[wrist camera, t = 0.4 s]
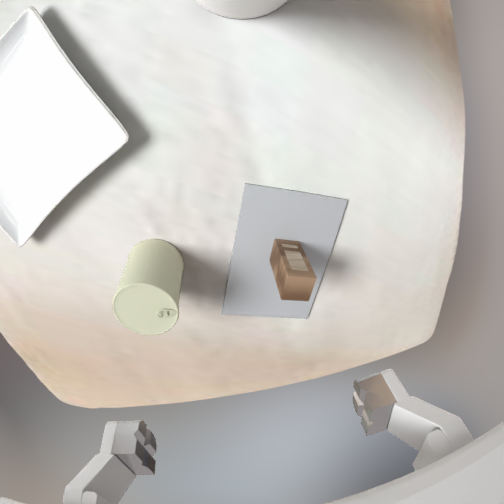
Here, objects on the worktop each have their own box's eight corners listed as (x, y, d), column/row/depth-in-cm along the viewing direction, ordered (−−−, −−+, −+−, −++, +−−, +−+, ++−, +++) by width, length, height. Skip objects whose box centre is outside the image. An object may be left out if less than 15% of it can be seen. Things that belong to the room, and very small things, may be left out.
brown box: (274, 238, 50) (288, 275, 41) (299, 240, 50) (317, 277, 42) (269, 260, 52) (281, 299, 43) (292, 262, 52) (308, 301, 44)
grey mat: (245, 183, 45) (245, 184, 45) (346, 199, 48) (347, 200, 48) (222, 312, 57) (222, 314, 56) (306, 317, 60) (306, 318, 59)
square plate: (138, 133, 40) (132, 138, 36) (28, 239, 45) (18, 251, 42) (41, 6, 26) (28, 2, 23) (-53, 131, 32) (-66, 137, 28)
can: (184, 287, 53) (181, 339, 43) (131, 286, 52) (117, 336, 41) (183, 238, 48) (176, 286, 38) (125, 238, 47) (105, 284, 37)
